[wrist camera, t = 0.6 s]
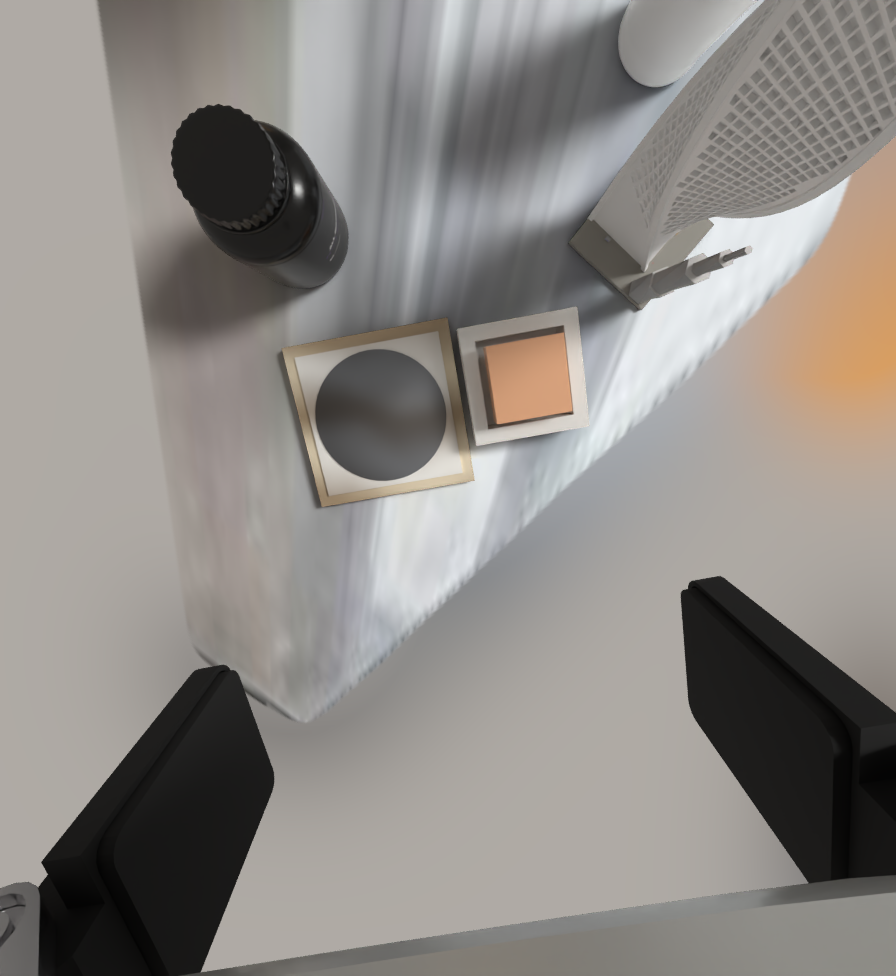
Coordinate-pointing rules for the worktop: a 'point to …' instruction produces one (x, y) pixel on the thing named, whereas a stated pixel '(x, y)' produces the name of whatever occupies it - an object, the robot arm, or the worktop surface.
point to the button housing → (511, 331)
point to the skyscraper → (748, 140)
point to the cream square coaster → (381, 412)
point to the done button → (528, 378)
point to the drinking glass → (672, 35)
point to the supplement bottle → (259, 196)
